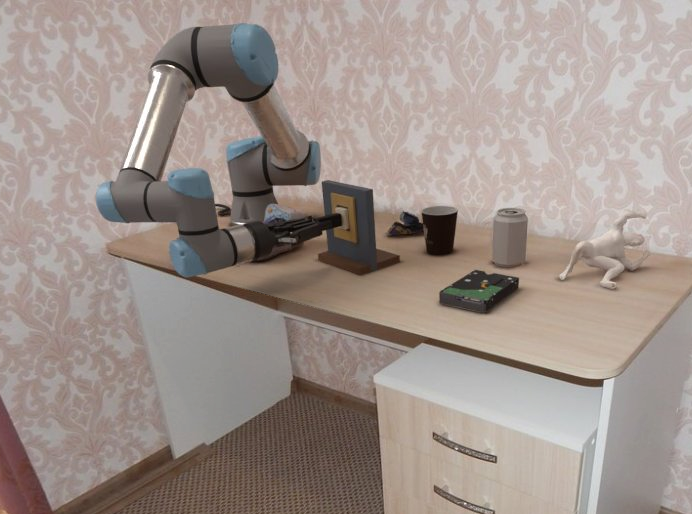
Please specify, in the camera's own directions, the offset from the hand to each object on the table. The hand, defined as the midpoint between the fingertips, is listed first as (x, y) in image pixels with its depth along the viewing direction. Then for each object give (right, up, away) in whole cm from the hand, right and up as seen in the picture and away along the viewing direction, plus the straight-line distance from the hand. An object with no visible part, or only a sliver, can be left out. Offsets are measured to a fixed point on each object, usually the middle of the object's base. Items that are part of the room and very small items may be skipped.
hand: (339, 219), depth 140 cm
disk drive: (+29, -20, -15) cm, 38 cm away
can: (+38, -10, +2) cm, 40 cm away
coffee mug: (+24, -4, +13) cm, 27 cm away
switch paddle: (+1, -2, +2) cm, 2 cm away
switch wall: (+4, -8, +8) cm, 12 cm away
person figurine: (+57, -14, -7) cm, 59 cm away
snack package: (+17, +3, +26) cm, 31 cm away
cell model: (-20, -4, +17) cm, 26 cm away
